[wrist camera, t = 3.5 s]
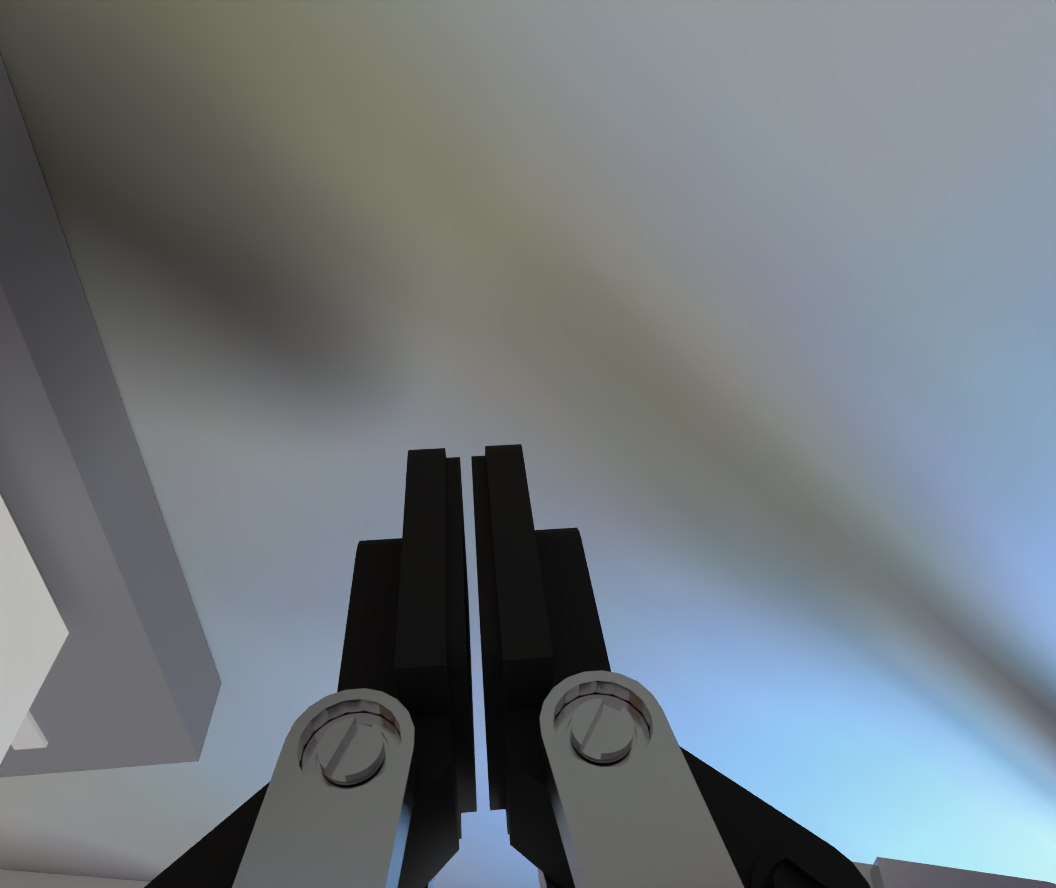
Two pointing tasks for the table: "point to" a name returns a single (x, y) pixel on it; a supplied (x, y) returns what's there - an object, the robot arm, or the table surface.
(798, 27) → the table surface
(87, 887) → the white cube
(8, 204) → the console
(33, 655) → the fader
